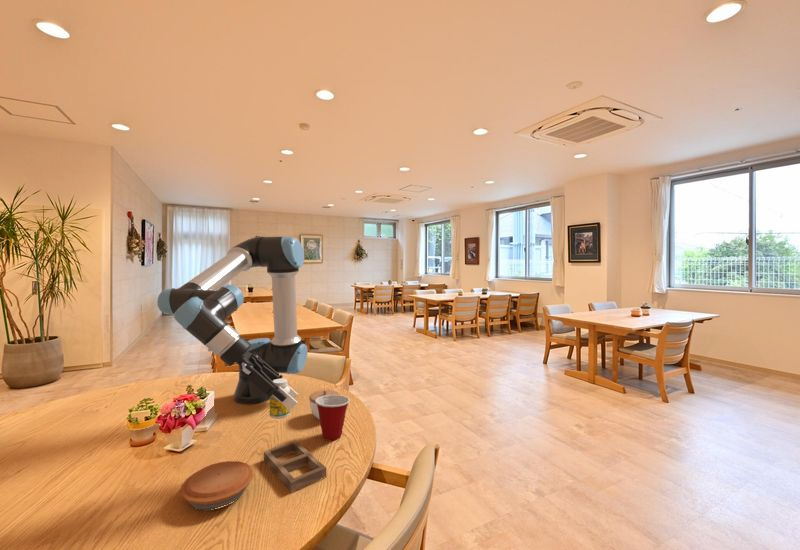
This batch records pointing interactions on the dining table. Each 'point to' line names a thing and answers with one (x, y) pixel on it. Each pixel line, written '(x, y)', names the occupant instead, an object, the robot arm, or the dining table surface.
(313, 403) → the lidded jar
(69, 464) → the dining table surface
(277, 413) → the supplement bottle
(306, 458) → the two-window wooden frame
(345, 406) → the plastic cup
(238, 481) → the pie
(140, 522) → the dining table surface
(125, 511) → the dining table surface
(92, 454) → the dining table surface
